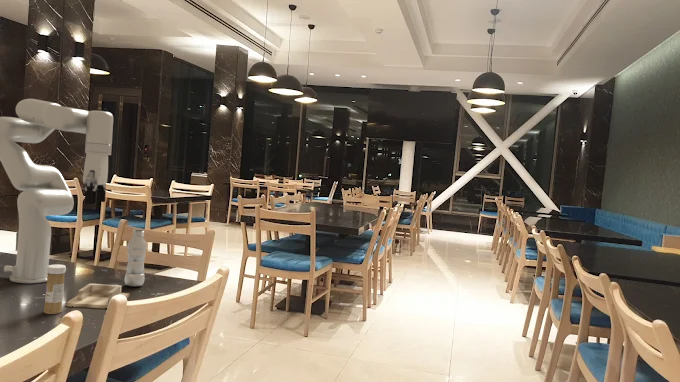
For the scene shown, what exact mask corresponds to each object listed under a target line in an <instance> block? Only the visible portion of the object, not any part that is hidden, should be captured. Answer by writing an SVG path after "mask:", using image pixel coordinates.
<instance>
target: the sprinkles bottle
mask: <svg viewBox="0 0 680 382" xmlns="http://www.w3.org/2000/svg"><path fill="white" fill-rule="evenodd" d="M66 271H67V268H66V265H65V264H60V263H59V264H58V263H57V264H49V266H48V267H47V274H48V275H47V281H46V285H45V286H46V287H45V295H44V296H45V297H44V301H45V302H44V310H43V313H44V314H46V315H55V314H56V315H57V314H60V313H61V312H62V311H63V308H62V307H63V301H64V288H65V276H66V275H65V274H66Z"/></svg>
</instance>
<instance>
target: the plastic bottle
mask: <svg viewBox="0 0 680 382" xmlns="http://www.w3.org/2000/svg"><path fill="white" fill-rule="evenodd" d="M131 235H132V237H131V238H130V239H129V241H128V243H127V266H126V273H125V274H124V284H125V285H126V286H128V287H134V288H135V287H141V286H143V285H144V282H145V278H146V277H145V259H146V252H147V249H148V243H147V241H146V239H145V238H144V236H145V230H143V229H133V231H132V234H131Z"/></svg>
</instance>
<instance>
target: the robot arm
mask: <svg viewBox="0 0 680 382" xmlns="http://www.w3.org/2000/svg"><path fill="white" fill-rule="evenodd" d="M15 114H16V115H17V116H18V117H12V116H0V162H1V165H2V167H3V169H4V170H5V173H6V175H7V176H8V179H9V181H10V183H11V184H12V186H13V187H14V188H15V189H16V190H18V191H21V192H20V193H19V194H18V197H17V200H16V201H17V202H16V203H17V211H18V237H17V250H16V263H15V265H14V266H13V265H5V266H3V272H4V273H11V275H10V276H9V281H10V282H13V283H19V284H40V283H45V282H46V283H47V275H48V274H47V267H48V266H49V265H50V263H49V262H50V254H51V252H50V251H51V239H52V226H51V224H50V222H49V220H48V219H47V216H48V217H49V216H62V215H67V214H69V213H71V212H72V211H73V209H74V206H75V205H74V204H75V202H74V196H73V194H72V191H71V190H70V188H69V186H68V184H67V182H66V180H65V179H64V177H63V175H62V173H61V172H60V170H59V169H57V167H55V166H52V165H48V164H37V163H35V162H33V160H32V159H31V157H30V155H29V153H28V151H26V150H25V149H24V147H21V146H20V145H19V144H18V143H26V144H27V143H28V144H38V143H41V142H43V141H44V140H45V139H47V137H49V136H50V135H51V134H52V133H53V132H54V131H55V130H57V131H58V130H59V131H63V132H70V133H71V132H72V133H78V134H79V133H80V134H84V135H85V148H84V154H85V159H84V166H83V174H82V175H83V176H82V183H83V185H85V187H84V204H86V205H87V204H89V205H96V204H97V202H99V203H105V202H106V192H107V190H106V189H107V187H106V186H107V182H108V175H109V156H112V147H113V145H112V144H113V132H114V130H113V127H114V116H113V114H112V113H111V112H109V111H104V110H90V111H89V110H85V109H82V108H81V109H80V108H74V107H68V106H63V105H61V104H59V103H57V102H51V101H46V100H42V99H35V98H26V99H24V98H23V99H22V100H20V101H19V102H18V103H17V104H16V105H15ZM16 142H17V143H16Z"/></svg>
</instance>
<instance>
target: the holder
mask: <svg viewBox="0 0 680 382" xmlns="http://www.w3.org/2000/svg"><path fill="white" fill-rule="evenodd" d="M122 287H123V286H122V285H119V284H104V283H103V284H102V283H88V284H86V285H84V286H83V287H82V288H80V289H79V290H78V292H77V293H78V294H77V295H76V296H75V297H73V298H71V299H69V300H68V301H67V302H66V303H65V307H70V308H71V307H72V306H73V308H88V309H89V308H92V309H105V308H107V305H108V302H109V300H110V298H111V297H113V296H114V295H117V294H123V295H125V296H126V297H127V299H128V298H129V297H130V293H129V292H128V293H127V292H122Z"/></svg>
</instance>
